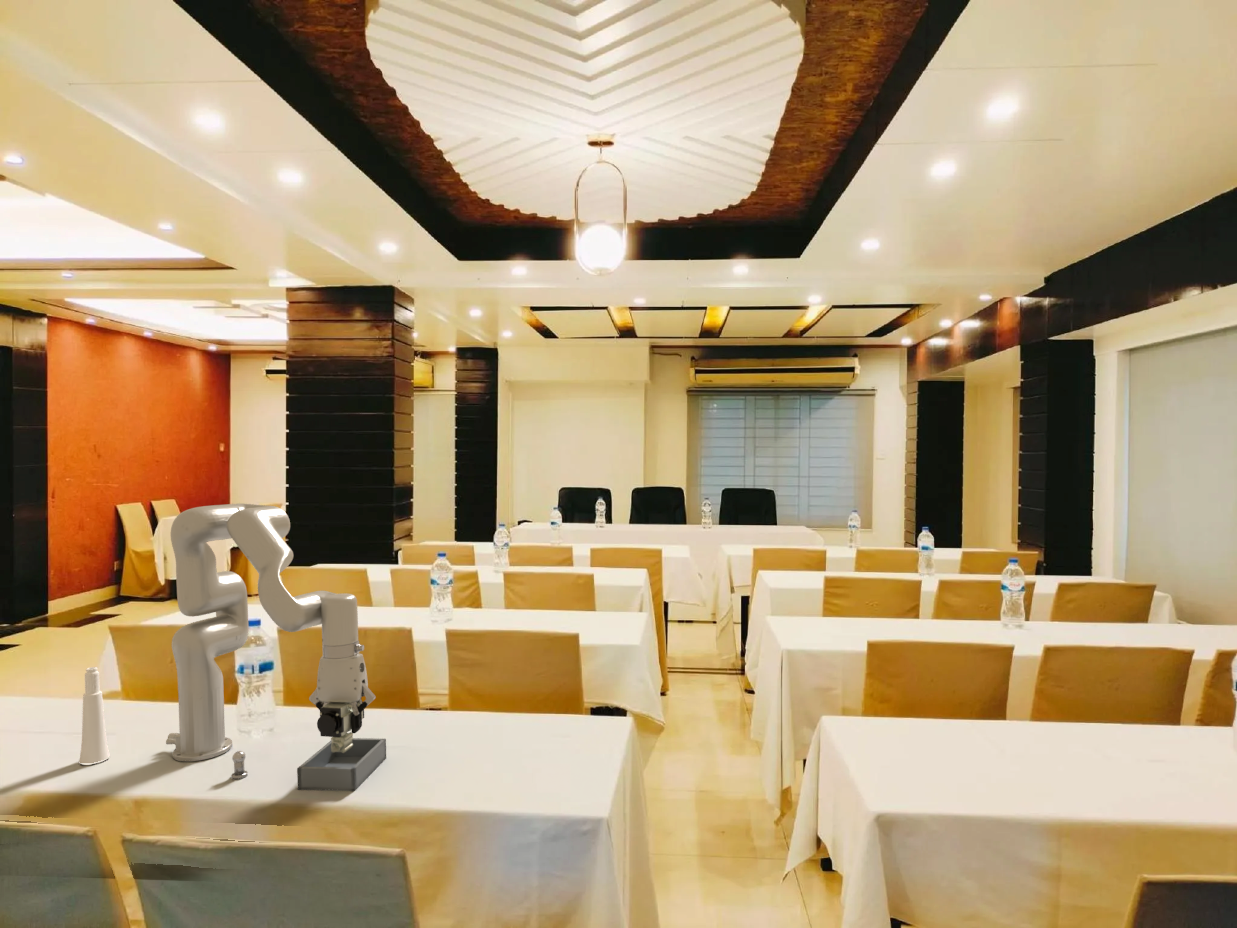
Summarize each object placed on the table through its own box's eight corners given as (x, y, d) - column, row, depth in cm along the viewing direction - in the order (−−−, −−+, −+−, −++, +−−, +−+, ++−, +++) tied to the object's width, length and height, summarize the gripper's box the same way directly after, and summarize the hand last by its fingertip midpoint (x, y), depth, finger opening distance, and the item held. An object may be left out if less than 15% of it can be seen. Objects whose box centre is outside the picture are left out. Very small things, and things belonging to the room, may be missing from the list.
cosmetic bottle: (109, 761, 173) (106, 669, 172) (77, 768, 170) (74, 673, 169) (111, 753, 178) (108, 663, 178) (80, 758, 175) (77, 667, 175)
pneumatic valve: (317, 760, 159) (315, 705, 158) (347, 739, 170) (346, 687, 170) (340, 761, 158) (338, 706, 157) (369, 740, 169) (367, 688, 169)
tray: (297, 789, 156) (297, 768, 156) (334, 757, 173) (334, 737, 173) (354, 790, 155) (354, 769, 155) (386, 758, 172) (385, 738, 172)
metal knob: (228, 779, 162) (227, 754, 162) (237, 773, 165) (236, 748, 165) (242, 779, 162) (241, 754, 162) (250, 773, 165) (249, 748, 165)
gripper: (384, 645, 167) (387, 724, 167) (312, 645, 168) (314, 724, 168) (370, 654, 159) (373, 737, 159) (295, 654, 161) (297, 737, 161)
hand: (343, 730), depth 164 cm, fingers closed on pneumatic valve, 5 cm apart
